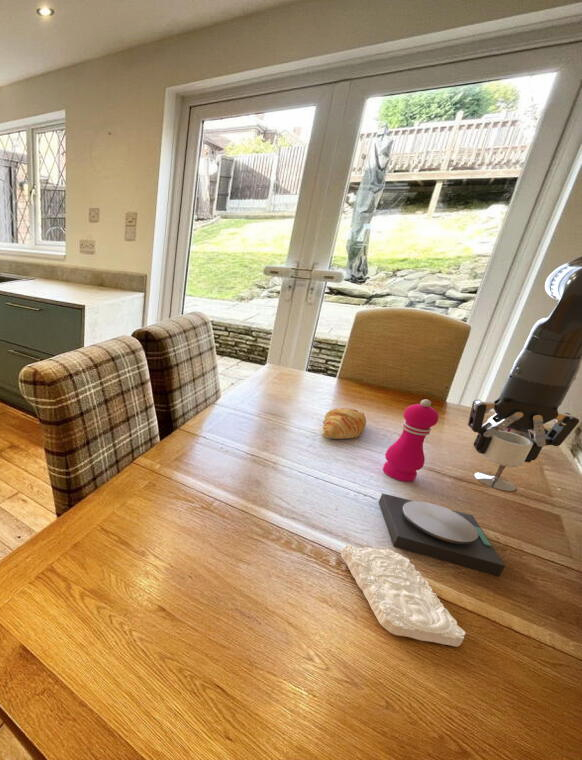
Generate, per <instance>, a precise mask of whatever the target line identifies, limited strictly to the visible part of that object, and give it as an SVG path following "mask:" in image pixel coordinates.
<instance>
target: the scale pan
mask: <svg viewBox="0 0 582 760" xmlns="http://www.w3.org/2000/svg"><path fill="white" fill-rule="evenodd" d="M451 510H452V509H449V508H446V507H443V506H441V505H438V504H435V503H431V502H427V501H420V500H412V501H411V502H407V503H406V504H404V506H403V508H402V512H403V515H404V516H405V518H406V519H407V520H408V521H409V522H410V523H411V524H413V525H414V526H415V527H417V528H418V529H420V530H422V531H423V532H425V533H427V534H429V535H431V536H433V537H436V538H438V539H441V540H444V541H448V542H452V543H457V544H470V543H473V542H475V541H476V540H477V538H478V532H477V530H476V528H475V527H474V526H473V525H472V524H471V523H470V522H469V521H467V520H466V519H465V518H463V517H462V516H460V515H458V514H457V513H455V512H453V511H454V510H453V511H451Z"/></svg>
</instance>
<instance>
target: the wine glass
mask: <svg viewBox="0 0 582 760" xmlns="http://www.w3.org/2000/svg"><path fill="white" fill-rule="evenodd" d="M499 422H500V421H499ZM544 430H545V436H546V434H547V433H548V432H549V431H550V430H548V429H547V428H545V427H544ZM501 431H507V432H511V433H514V434H518V435H520V436H523V437H525V438H527V439H529V440H531V439H530V436H529V431H528V429H523V428H521V427H510V426H507V427H506V428H505V429H503V430H501ZM506 467H507V466H502V465H499V464H498V469H497V471H496V472H495V474H492V473H488V472H482V471H478V472H475V473H474V474H473V477H474V478H475V479H476V480H477V481H479V482H480V483H482V484H483V485H486V486H488V487H490V488H493V489H496V490H499V491H505V492H515V491H516V490H517V487H516V485H515V484H514V483H513V482H511V481H510V480H507V479H506V478H504V477H502V476H501V475H502V473H503V472H504V470H505V469H506Z"/></svg>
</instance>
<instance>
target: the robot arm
mask: <svg viewBox="0 0 582 760" xmlns="http://www.w3.org/2000/svg"><path fill="white" fill-rule="evenodd" d="M544 289H545V292H546V293H547V295H548V296H549V297H551V298H552V299H554V300H557V301H558V302H557V304H556V306H555V307H554V309H553V310H552V311H551V313H550V314H549V316H548V317H543V318H541V319H539V320H537V322H535V324H534V325H533V327H532V328H531V331H530V333H529V334H528V337H527V339H526V341H525V344H524V345H523V348H522V350H521V351H520V352H519V354H518V355H517V357H516V359H515V361H514V363H513V365H512V366H511V369H510V371H509V373H508V376H507V378H506V380H505V382H504V384H503V386H502V388H501V391H500V394H499V397H498V398H497V399H496V400H494V401H481V399H474V400H473V401H472V404H471V408H470V414H469V418H468V421H467V426H468V427H469V428H470V429H471V430H472V431H473V432H474V433H477V435H476V437H475V439H474V441H473V448H474V449H475V451H476V452H477V453H478V454H481V455H482V454H484V453H485V452H486V450H487V447H488V445H489V443H490V441H491V439H492V438H491V436H492V435H493V434H495V433H496V432H498V431H499V430H503V429H505V428H506V427H507V426H510V427H521V428H523V429H528V431H529V436H530V439H531V441H532V442H533V446H532V448H531V450H530V451H529V453H528V455H527V457H526V459H525V461H524V463H529V464H531V462H533V461H535V460H536V459H537V458H538V456H539V454H540V452H541V451H542V449H543V447H545V446H552V447H559V446H561V445H562V444H563V442H564V441H565V440H566V439H567V438H568V436H569V435H570V434H571V433H572V432H573V430H574V429H575V428H576V427H577V425H578V424H579V423H580V419H579V418H577V417H576V416H575V415H573V414H572V413H569V412H564V413H562V412H559V411H558V409H559V407H560V406H561V405H562V404H563V401H564V400H565V398H566V396H567V394H568V393H569V391H570V388H571V386H573V385H572V384H573V383H574V381H576V379H577V375H578V373H579V371H580V368H581V364H582V255H581V256H578V257H576V258H573V259H572V260H569V261H568V262H566V263H563V264H562V265H560V266H559V267H557V268H555V270H553V271H552V272H551V273H550V274H549V275H548V277H547V278H546V280H545V283H544ZM491 410H494V412H495V413H494V414H493V415H491V416H490V417H489V418H488V419H487V421H486V422H485V423H484V419H485V416H486V414H488V413H489V412H490V411H491ZM553 420H554V424H553V425H552V427H551V428H550V429H549V430H548V431H549V432H548V433H547V434H546V436H545V430H544V428H545V426H544V425H545V424H546V423H549V422H551V421H553ZM499 421H500V422H499Z"/></svg>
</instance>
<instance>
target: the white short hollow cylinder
mask: <svg viewBox="0 0 582 760" xmlns="http://www.w3.org/2000/svg"><path fill="white" fill-rule="evenodd" d="M491 438H492V439H491V441H490V443H489V445H488V447H487V450H486V452H485V453H484V454H481V456H482V457H483V458H484V459H485V460H487V461H488V462H491V463H494V464H496V465H498V466H499V465H502V466H506V467H507V468H517V467H521V466H523V465H524V463H525V462H524V461H525V459H526V457H527V455H528V453H529V451H530V450H531V448H532V446H533V442H532V441H531V440H529V439H527V438H525V437H523V436H520V435H518V434H514V433H511V432H507V431H501V430H499V431H498V432H496V433H495V434H493V435H492V436H491Z"/></svg>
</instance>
